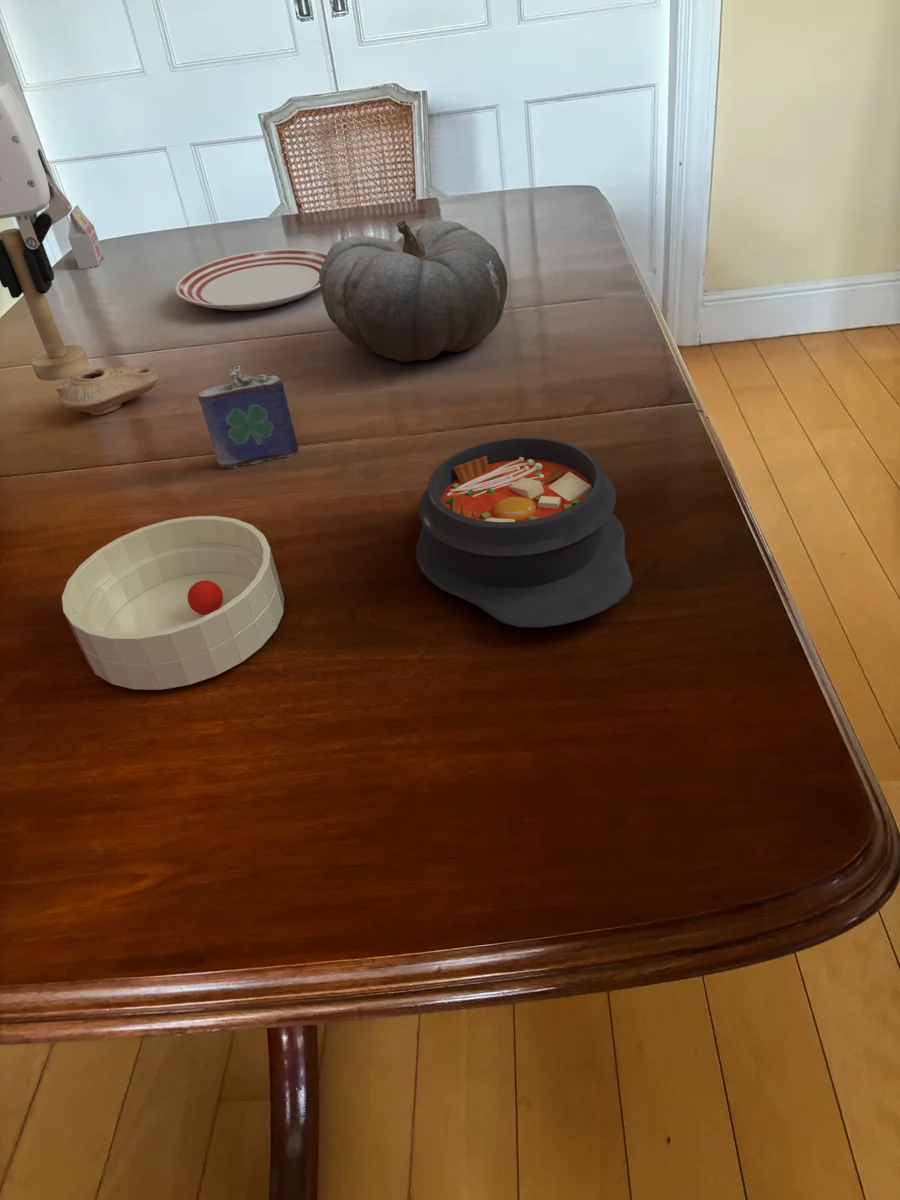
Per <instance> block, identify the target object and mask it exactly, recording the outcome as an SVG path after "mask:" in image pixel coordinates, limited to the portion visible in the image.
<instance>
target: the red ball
mask: <svg viewBox="0 0 900 1200" xmlns="http://www.w3.org/2000/svg"><path fill="white" fill-rule="evenodd" d="M187 599H188V603H189V606H190V607H191V608H192V609H193V610H194V611H195V612H197V613H199V614H203V615H208V614H210V613H212V612H214V611H216V610H218V609H219V608H220V606H221V604H222V602H223V593H222V590H221V589H220V587H219V586H218V585H217V584H216V583H214V582H212V581H208V580H203V581H199V582H197V583H195V584H194V585H192V587H191V588H190V589H189V592H188V596H187Z"/></svg>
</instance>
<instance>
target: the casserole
mask: <svg viewBox="0 0 900 1200" xmlns="http://www.w3.org/2000/svg"><path fill="white" fill-rule="evenodd" d="M616 496H617V492H616V488H615V487H614V484H613V482H612V481H611V480H610V478H609V477H608V476H607V475H606V473H605V472H603V468H602V466H601V464H600V462H599V461H598V460H597V458H595V456H593V455H592V454H591V453H589V452H588V451H586V450H585V449H583V448H581V447H578V446H577V445H574V444H572V443H569V442H564V441H561V440H557V439H551V438H544V437H509V438H503V439H495V440H491V441H486V442H482V443H478V444H476V445H473V446H470V447H467V448H465V449H463V450H461V451H458V452H456V453H454V454H452V455H451V456H450V457H448V458H447V459H445V460H443V462H441V463H440V464H439V465H438V466H437V467H436V468H435V469H434V471H433V472H432V474H431V475H430V476H429V479H428V483H427V487H426V490H425V491H424V492H423V493H422V495H421V496H420V497H421V498H420V501H419V504H418V517H419V520H420V522H421V524H422V526H421V527H422V528H421V530H420V533H419V537H418V539H417V543H416V547H415V555H416V561H417V564H418V567H419V569H420V572H422V573H423V574H424V576H425V577H426V578H427V579H428V580H429V581H430V582H431V583H432V584H433V585H434V586H436V587H438V588H439V589H440V590H442V591H444V592H445V593H448V594H450V595H453V596H455V597H457V598H460V599H461V600H464V601H466V602H468V603H470V604H473V605H475V606H476V607H478V608H479V609H481V610H482V611H484V612H485V613H487V614H488V615H490V616H491V617H493V618H494V619H496V620H497V621H498V622H499V621H500V623H502V624H504V625H508V626H513V627H517V628H539V629H540V628H547V627H554V626H555V627H556V626H561V625H562V626H563V625H566V624H570V623H573V622H577V621H582V620H585V619H588V618H590V617H593V616H594V615H597V614H600V613H602V612H604V611H605V610H607V609H609V608H610V607H613V606H614V605H615V604H617V603H619V602H620V601H621V600H622V599H623V598H624V597H625V596H627V594H629V593H630V590H631V587H632V585H633V583H634V582H633V581H634V580H633V577H632V572H631V570H630V567H629V563H628V561H627V559H626V533H625V531H624V528H623V526H622V523H621V521H620V520H619V518H618V517H617V515H615V513H614V509H615V506H616V503H617V497H616Z"/></svg>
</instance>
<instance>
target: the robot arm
mask: <svg viewBox="0 0 900 1200" xmlns="http://www.w3.org/2000/svg"><path fill="white" fill-rule="evenodd" d="M48 204H49V207H47V206H48ZM46 207H47V208H46ZM44 209H45V210H44ZM42 210H43V211H42ZM72 210H73V206H72V203H71V202H70V201H69V199H68V198H67V197H66V195H65V194H64V193H63V191H61V189H60V188H59V187H58V185H57V184H56V182H55V180H54V177H53V173H52V171H51V169H50V165H49V163H48V159H47V158H46V155H45V154H44V151H43V148H42V146H41V144H40V141H39V139H38V137H37V135H36V132H35V130H34V128H33V126H32V123H31V122H30V120H29V117H28V115H27V113H26V112H25V110H24V108H23V106H22V103H21V102H20V100H19V98H18V95H16V92H15V91H14V89H13V87H12V86H11V84H10V82H9V81H1V80H0V220H1V219H9V218H15V221H16V223H17V226H18V229H20V231H21V234H22V237H23V239H24V246H25V251H24V252H23V256H24V259H25V261H26V264H27V266H28V269H29V272H30V274H31V277H32V279H33V282H34V285H35V287H36V290H37V292H38V293H40V294H44V295H45V294H47V293H48V292H49V290H50V288H51V287H52V286H53V281H54V279H55V273H54V270H53V267H52V265H51V262H50V259H49V256H48V253H47V251H46V248H45V245H44V243H43V242H44V240H45V239H46V237H47V234H48V232H49V230H50V229H51V227H52V226H53V225H54V224H56V223H57V222H59V221H60V220H62V219H64V218H65V217H66V216H68V215H70V213H71V212H72ZM40 211H41V212H40ZM38 212H40V213H39V214H38ZM0 284H1V286H2V287H3V288H5V289H6V288H7V289H8V293H9V294H10V297H11V298H12V299H18V298H19V297H21V296H22V295H23V292H22V289H21V287H20V284H19V282H18V279H17V277H16V274H15V272H14V269H13V267H12V264H11V261H10V259H9V256H8V254H7V251H6V249H5V246H4V244H3V241H2V239H1V236H0Z"/></svg>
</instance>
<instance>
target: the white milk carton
mask: <svg viewBox="0 0 900 1200" xmlns="http://www.w3.org/2000/svg"><path fill="white" fill-rule="evenodd" d="M67 238H68V241H69V244H70V247H71V249H72V252H73V255H74V258H75V261H76V264H77V266H78V270H86V269H91V268H90V267H92V268H96V267H95V266H98V265H99V263H100V262H101V263H102V261H103V259H104V258H103V256H104V257H105V255H104V251H103V249H102V247H101V243H100V241H99V238H98V234H97V231H96V229H95V225H94V224H93V223H92V222H91V221H90V219H88V217H87V216H86V215H85V213H84V212H83V211H82V209H81V208H80V206H79V205H78V204H77V205H75V206H74V207H73V208H72V210H71V211H70V212H69V229H68V237H67ZM102 258H103V259H102ZM101 260H102V261H101ZM101 263H100V264H101ZM99 266H100V265H99ZM99 266H98V267H99Z"/></svg>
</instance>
